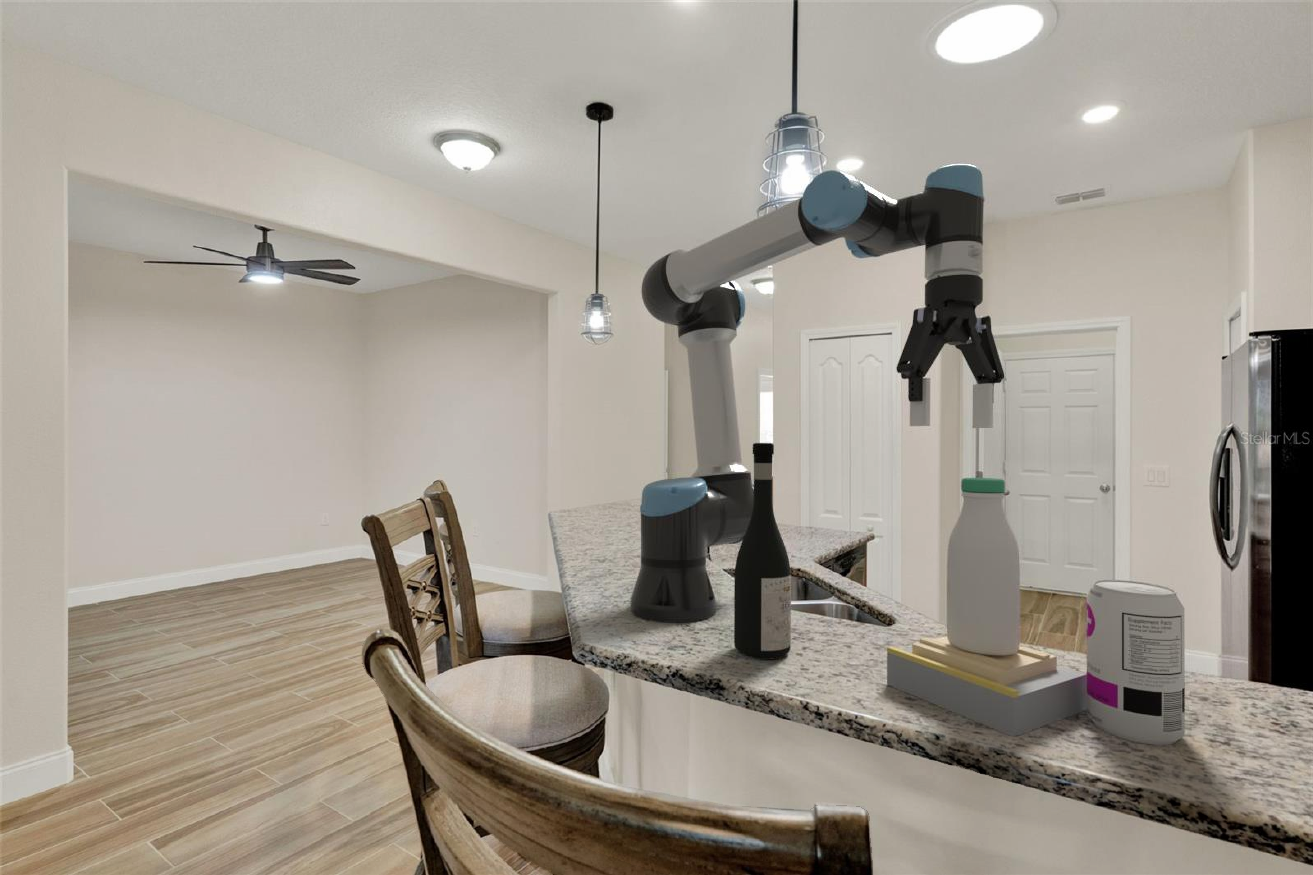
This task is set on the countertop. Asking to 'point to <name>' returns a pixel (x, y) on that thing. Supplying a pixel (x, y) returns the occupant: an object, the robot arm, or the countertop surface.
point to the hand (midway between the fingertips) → (952, 427)
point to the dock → (989, 684)
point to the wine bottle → (762, 574)
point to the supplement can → (1136, 661)
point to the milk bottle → (983, 573)
